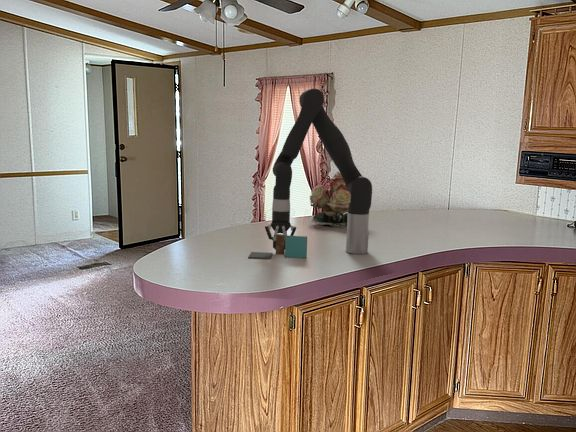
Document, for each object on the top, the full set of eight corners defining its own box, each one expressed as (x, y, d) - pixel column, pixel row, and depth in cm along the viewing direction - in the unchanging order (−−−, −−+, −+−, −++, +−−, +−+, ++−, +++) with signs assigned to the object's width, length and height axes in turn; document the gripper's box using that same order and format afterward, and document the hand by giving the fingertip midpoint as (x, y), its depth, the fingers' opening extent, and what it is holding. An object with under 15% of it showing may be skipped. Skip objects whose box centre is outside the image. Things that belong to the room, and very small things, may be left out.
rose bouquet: (303, 221, 310) (304, 170, 305) (346, 219, 322) (348, 169, 317) (324, 228, 287) (326, 173, 282) (369, 226, 299) (372, 173, 294)
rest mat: (272, 254, 223) (272, 252, 223) (270, 259, 214) (270, 257, 214) (251, 253, 224) (251, 251, 224) (248, 258, 215) (248, 256, 215)
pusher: (284, 252, 227) (285, 234, 226) (284, 254, 224) (284, 235, 222) (276, 252, 227) (276, 233, 226) (275, 253, 224) (276, 235, 222)
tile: (306, 257, 219) (307, 236, 218) (306, 258, 218) (307, 236, 216) (284, 256, 220) (285, 235, 218) (284, 257, 218) (285, 236, 217)
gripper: (298, 208, 226) (297, 248, 228) (265, 207, 227) (264, 246, 229) (297, 211, 218) (296, 252, 221) (263, 210, 219) (262, 250, 222)
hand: (280, 249), depth 225 cm, fingers closed on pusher, 3 cm apart
